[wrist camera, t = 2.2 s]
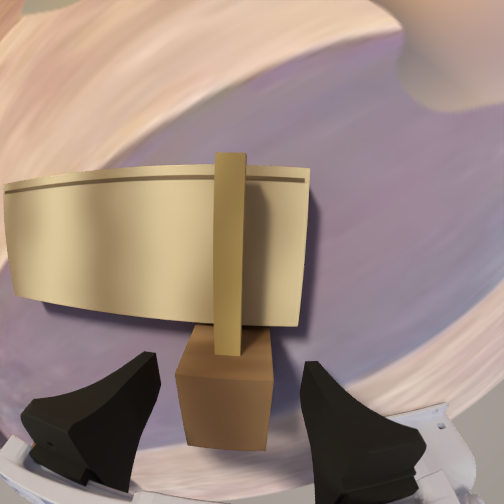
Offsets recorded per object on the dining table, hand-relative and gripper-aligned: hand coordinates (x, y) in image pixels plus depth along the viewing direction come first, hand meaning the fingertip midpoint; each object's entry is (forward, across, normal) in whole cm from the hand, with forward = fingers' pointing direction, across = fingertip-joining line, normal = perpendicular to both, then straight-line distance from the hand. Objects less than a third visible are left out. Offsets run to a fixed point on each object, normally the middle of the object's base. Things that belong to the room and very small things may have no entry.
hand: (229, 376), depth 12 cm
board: (+3, +5, -6) cm, 9 cm away
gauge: (+3, 0, -4) cm, 4 cm away
